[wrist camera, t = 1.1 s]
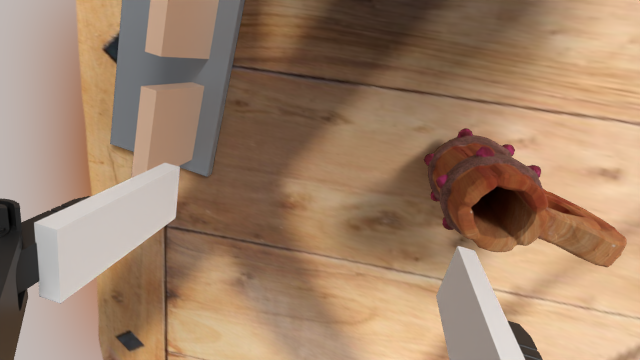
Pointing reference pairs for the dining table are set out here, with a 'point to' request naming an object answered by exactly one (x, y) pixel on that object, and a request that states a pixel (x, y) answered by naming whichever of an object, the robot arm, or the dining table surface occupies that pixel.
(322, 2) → the dining table surface
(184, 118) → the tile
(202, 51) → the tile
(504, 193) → the mug
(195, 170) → the slate board
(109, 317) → the dining table surface
